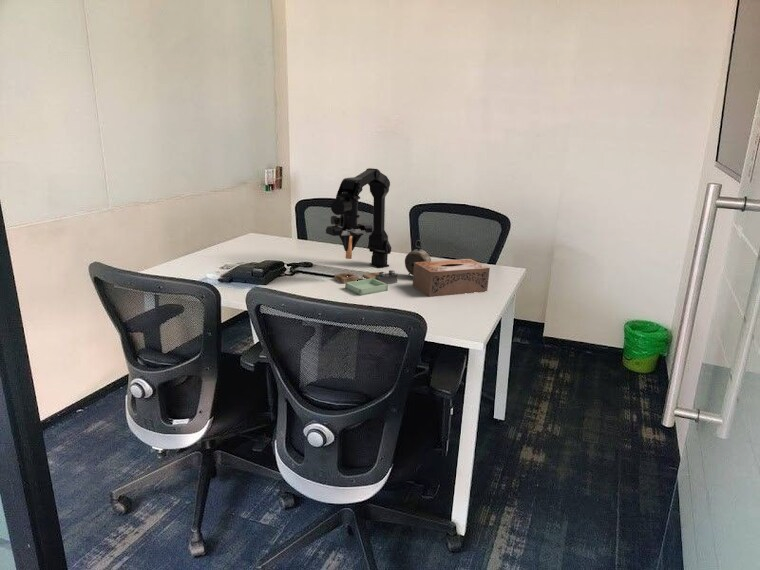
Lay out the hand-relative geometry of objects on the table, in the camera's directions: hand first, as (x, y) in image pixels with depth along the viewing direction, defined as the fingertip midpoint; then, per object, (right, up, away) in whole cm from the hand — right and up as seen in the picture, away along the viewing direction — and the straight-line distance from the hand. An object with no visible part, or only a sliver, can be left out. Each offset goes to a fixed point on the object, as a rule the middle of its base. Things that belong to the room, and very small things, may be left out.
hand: (348, 250), depth 225 cm
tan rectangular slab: (+11, -12, +8) cm, 18 cm away
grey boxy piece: (+15, -13, +4) cm, 20 cm away
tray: (+7, -15, -6) cm, 18 cm away
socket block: (-1, -12, +5) cm, 13 cm away
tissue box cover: (+40, -15, +1) cm, 43 cm away
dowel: (0, -3, +1) cm, 3 cm away
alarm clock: (+28, -11, +13) cm, 32 cm away
